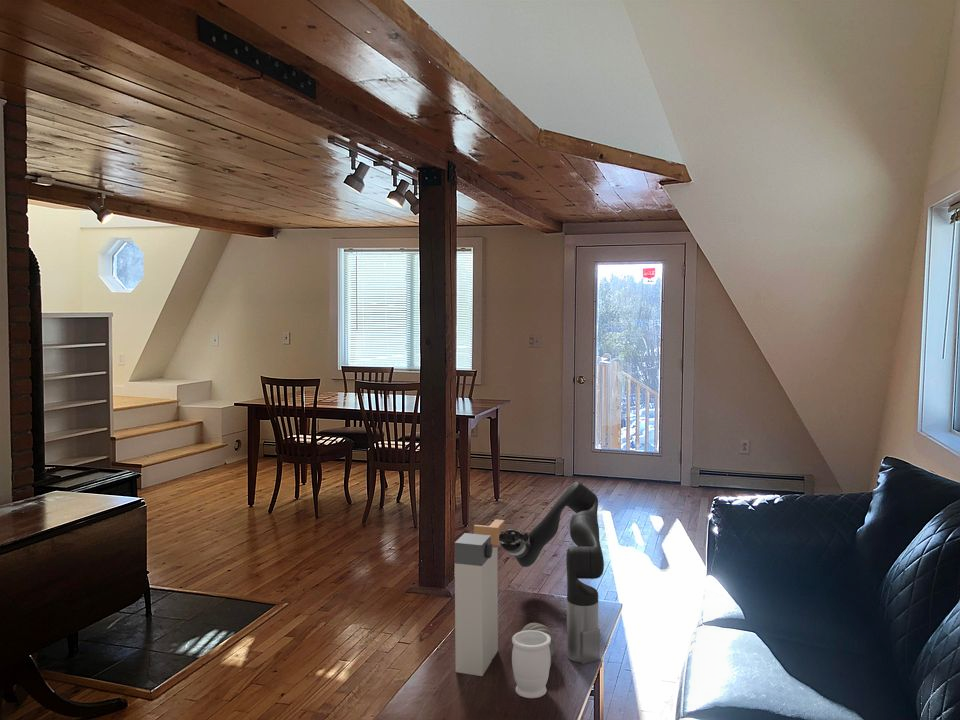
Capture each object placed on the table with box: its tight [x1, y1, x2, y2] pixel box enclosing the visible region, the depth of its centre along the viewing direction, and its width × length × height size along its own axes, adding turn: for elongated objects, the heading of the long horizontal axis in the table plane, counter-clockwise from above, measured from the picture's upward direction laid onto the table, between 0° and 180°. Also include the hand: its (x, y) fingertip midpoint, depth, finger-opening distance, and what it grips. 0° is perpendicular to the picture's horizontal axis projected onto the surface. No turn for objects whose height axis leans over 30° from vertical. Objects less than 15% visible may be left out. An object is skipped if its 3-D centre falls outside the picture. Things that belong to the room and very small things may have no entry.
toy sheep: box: [520, 622, 557, 668], centre depth 226 cm, size 11×17×11 cm, turn 24°
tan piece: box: [473, 519, 505, 546], centre depth 241 cm, size 16×8×5 cm, turn 163°
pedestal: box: [454, 532, 499, 677], centre depth 226 cm, size 16×9×38 cm, turn 163°
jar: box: [511, 630, 552, 699], centre depth 210 cm, size 11×10×15 cm
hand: (502, 532), depth 253 cm, fingers open, 8 cm apart
